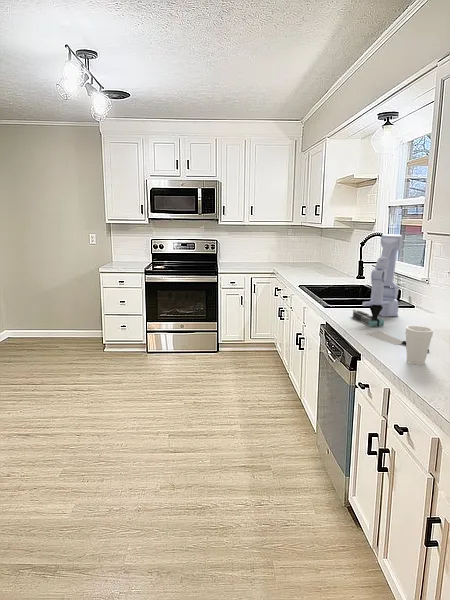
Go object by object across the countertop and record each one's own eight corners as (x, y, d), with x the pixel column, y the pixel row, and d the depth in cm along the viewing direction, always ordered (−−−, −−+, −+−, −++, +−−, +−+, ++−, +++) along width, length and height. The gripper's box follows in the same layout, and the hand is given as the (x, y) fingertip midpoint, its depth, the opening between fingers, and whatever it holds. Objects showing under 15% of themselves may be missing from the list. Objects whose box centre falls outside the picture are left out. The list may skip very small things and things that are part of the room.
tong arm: (351, 316, 248) (352, 309, 247) (358, 315, 249) (359, 309, 248) (376, 326, 227) (376, 319, 226) (383, 326, 228) (384, 319, 227)
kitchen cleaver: (361, 333, 213) (379, 328, 216) (361, 336, 213) (379, 332, 217) (414, 353, 185) (432, 348, 189) (414, 357, 185) (432, 352, 189)
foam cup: (404, 364, 172) (408, 330, 169) (400, 357, 181) (403, 324, 178) (431, 367, 170) (436, 332, 168) (425, 359, 179) (429, 326, 177)
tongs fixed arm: (351, 318, 244) (352, 312, 243) (356, 318, 245) (357, 312, 244) (371, 327, 226) (372, 320, 225) (377, 326, 227) (377, 320, 226)
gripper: (368, 295, 227) (366, 322, 229) (394, 294, 230) (391, 321, 233) (361, 292, 233) (358, 318, 236) (386, 291, 237) (383, 317, 240)
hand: (374, 319), depth 235 cm, fingers closed
